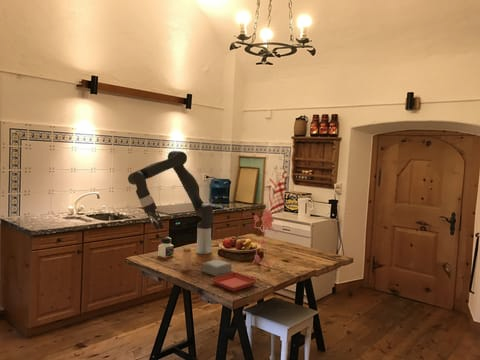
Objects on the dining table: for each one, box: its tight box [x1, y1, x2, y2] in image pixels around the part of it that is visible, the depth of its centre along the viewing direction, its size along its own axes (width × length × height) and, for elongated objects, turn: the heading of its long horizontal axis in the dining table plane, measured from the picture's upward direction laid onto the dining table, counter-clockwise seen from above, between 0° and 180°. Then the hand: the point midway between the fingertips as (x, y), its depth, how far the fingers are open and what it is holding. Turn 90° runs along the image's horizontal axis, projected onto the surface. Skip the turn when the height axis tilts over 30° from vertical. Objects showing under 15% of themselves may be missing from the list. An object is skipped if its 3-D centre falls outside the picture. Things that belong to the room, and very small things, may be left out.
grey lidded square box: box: [201, 258, 232, 277], centre depth 234 cm, size 12×12×5 cm
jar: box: [181, 247, 192, 272], centre depth 236 cm, size 5×5×12 cm
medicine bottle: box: [157, 236, 175, 259], centre depth 262 cm, size 7×7×12 cm
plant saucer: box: [210, 271, 258, 292], centre depth 214 cm, size 18×18×3 cm
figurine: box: [252, 208, 278, 269], centre depth 249 cm, size 15×26×35 cm, turn 28°
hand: (159, 228), depth 237 cm, fingers open, 8 cm apart
